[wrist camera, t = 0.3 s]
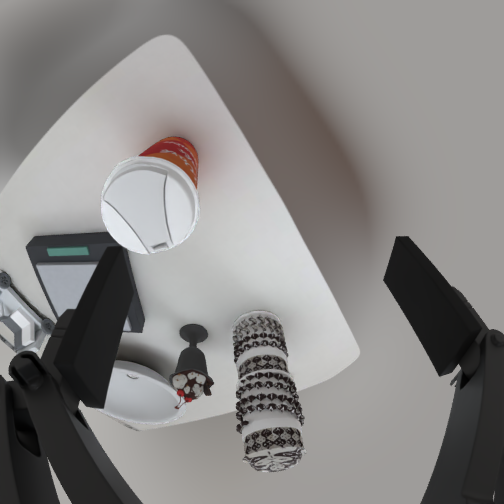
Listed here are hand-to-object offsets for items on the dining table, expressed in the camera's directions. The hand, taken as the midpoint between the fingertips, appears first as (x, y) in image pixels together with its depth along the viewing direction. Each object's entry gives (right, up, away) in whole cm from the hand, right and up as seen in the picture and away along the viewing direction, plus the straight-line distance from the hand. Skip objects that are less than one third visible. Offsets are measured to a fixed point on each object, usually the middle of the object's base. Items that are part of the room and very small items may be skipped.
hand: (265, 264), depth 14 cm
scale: (-26, -4, +28) cm, 39 cm away
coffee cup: (-10, +12, +20) cm, 25 cm away
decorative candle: (0, -12, +37) cm, 39 cm away
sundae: (-11, -14, +37) cm, 40 cm away
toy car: (-47, -9, +30) cm, 57 cm away
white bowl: (-26, -26, +43) cm, 56 cm away
